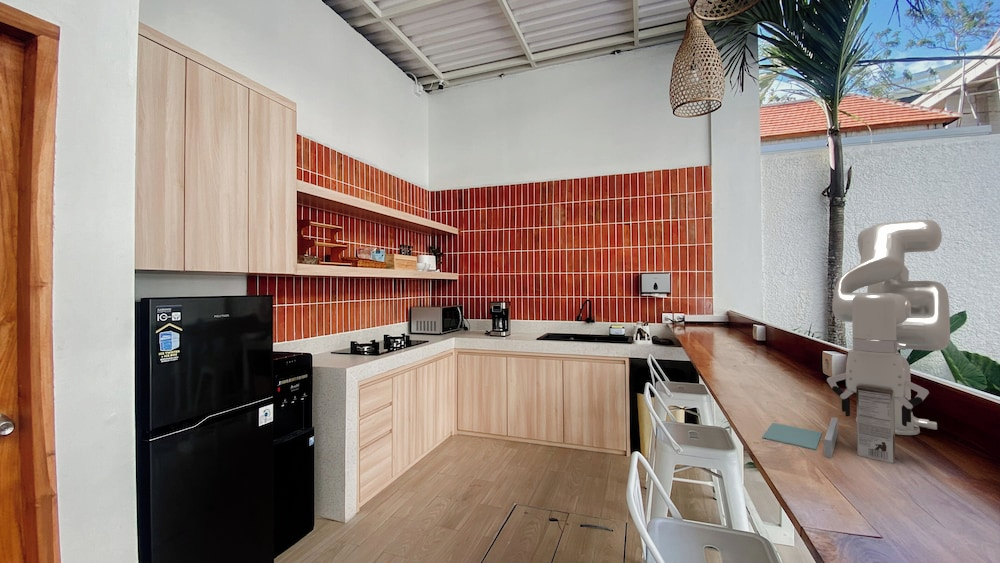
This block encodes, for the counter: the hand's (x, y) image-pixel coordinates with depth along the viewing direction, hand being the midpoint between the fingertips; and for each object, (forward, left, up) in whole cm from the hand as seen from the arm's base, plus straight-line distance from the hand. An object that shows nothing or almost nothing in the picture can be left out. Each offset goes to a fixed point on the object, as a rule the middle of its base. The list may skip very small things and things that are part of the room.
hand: (875, 419), depth 93 cm
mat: (+16, -1, -8) cm, 18 cm away
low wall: (+8, -1, -8) cm, 11 cm away
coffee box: (0, -1, -8) cm, 8 cm away
